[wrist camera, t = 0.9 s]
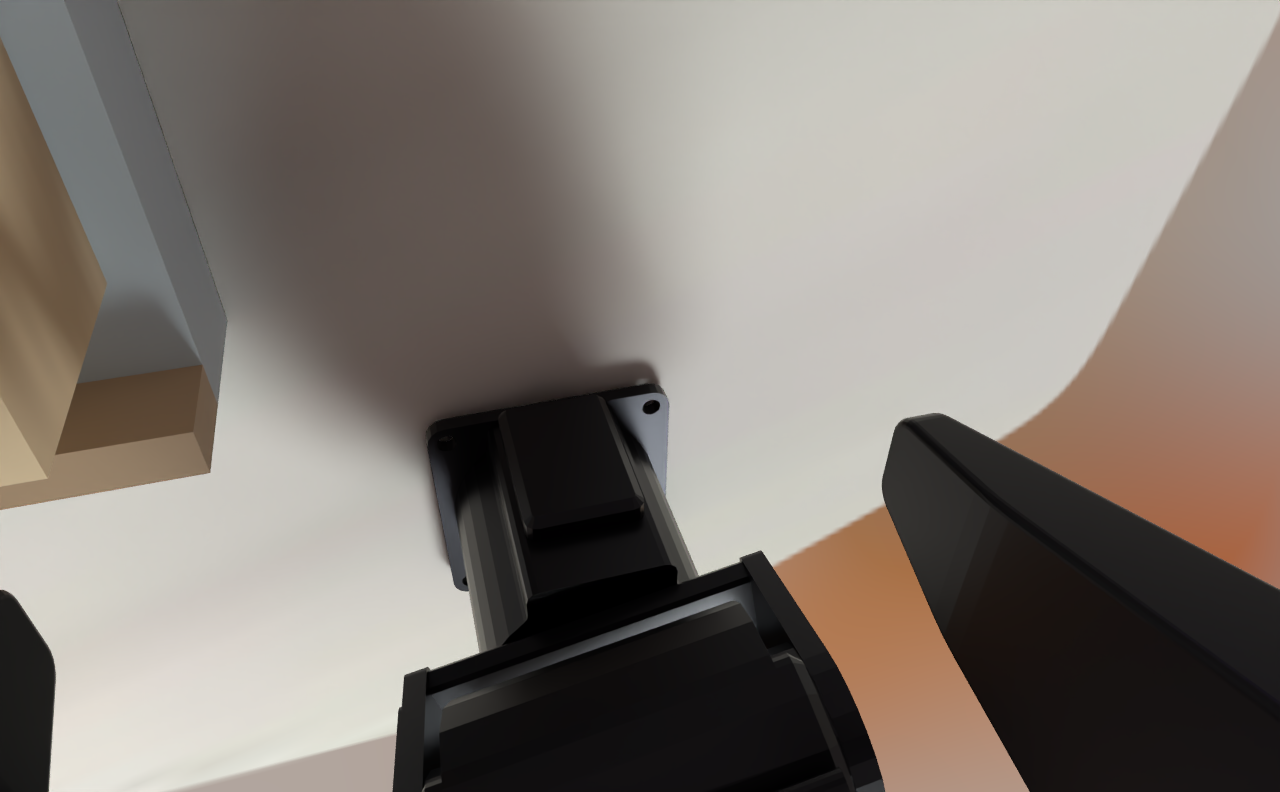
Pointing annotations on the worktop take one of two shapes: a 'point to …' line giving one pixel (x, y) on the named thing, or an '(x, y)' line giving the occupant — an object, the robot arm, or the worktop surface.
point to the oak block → (38, 291)
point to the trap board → (121, 259)
